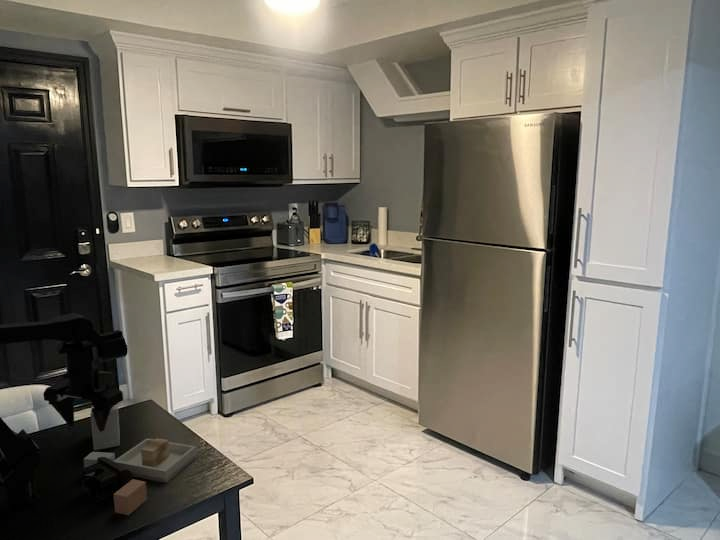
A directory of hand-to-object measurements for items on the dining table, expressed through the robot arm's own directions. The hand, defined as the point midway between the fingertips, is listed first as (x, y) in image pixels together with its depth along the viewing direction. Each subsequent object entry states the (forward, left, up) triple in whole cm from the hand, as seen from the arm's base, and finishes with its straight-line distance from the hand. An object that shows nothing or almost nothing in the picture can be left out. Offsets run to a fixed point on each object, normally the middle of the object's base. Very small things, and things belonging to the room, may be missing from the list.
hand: (86, 428), depth 127 cm
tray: (+9, -12, -12) cm, 20 cm away
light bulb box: (+16, +10, -13) cm, 23 cm away
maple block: (+9, -12, -12) cm, 19 cm away
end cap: (-4, -9, -13) cm, 16 cm away
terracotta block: (-7, -18, -13) cm, 23 cm away
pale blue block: (+2, -1, -13) cm, 13 cm away
